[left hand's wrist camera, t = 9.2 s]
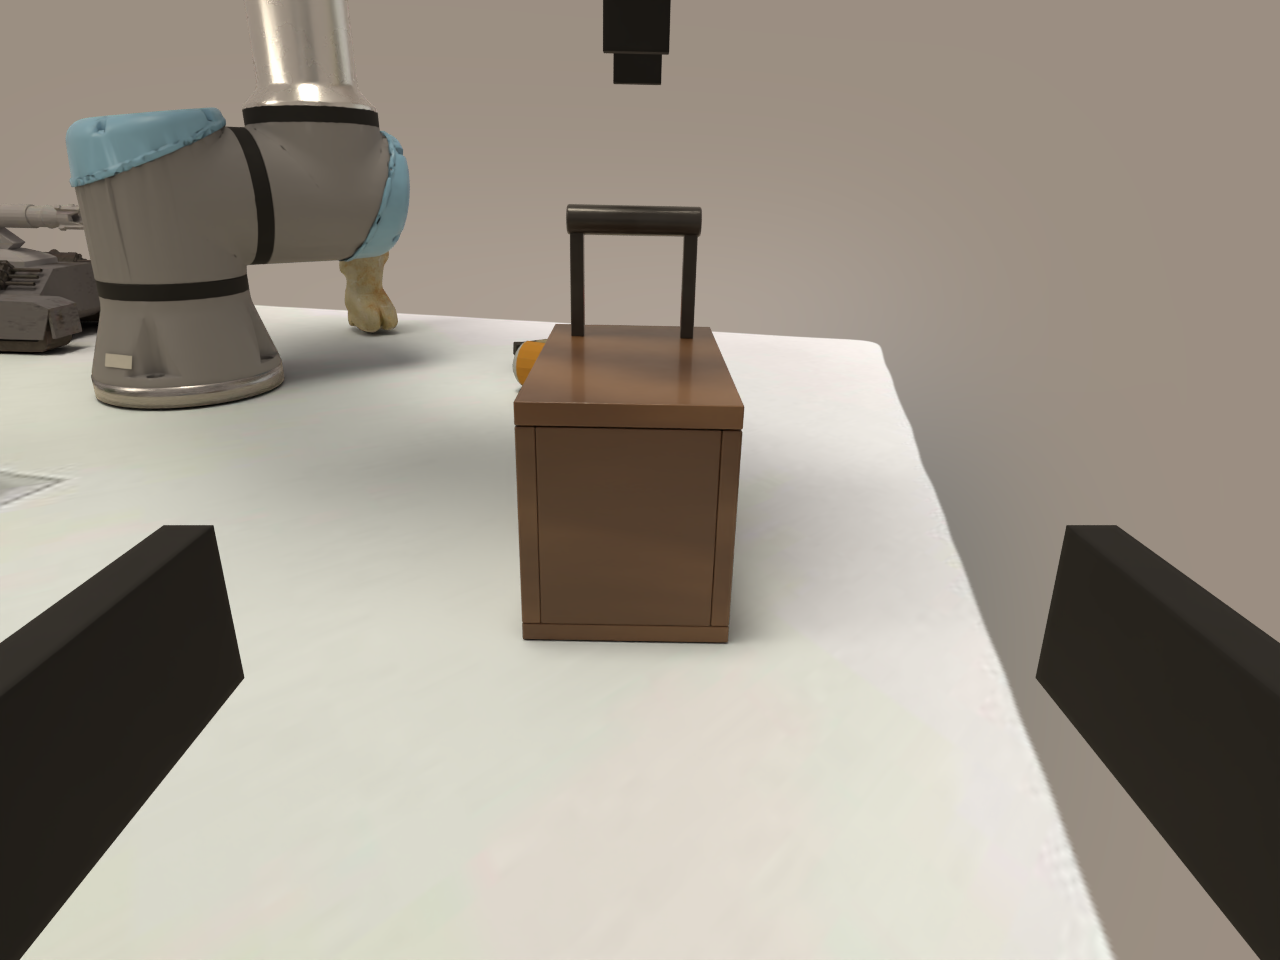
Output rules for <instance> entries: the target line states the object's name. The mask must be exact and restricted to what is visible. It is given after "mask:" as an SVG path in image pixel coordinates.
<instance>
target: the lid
mask: <svg viewBox="0 0 1280 960" xmlns="http://www.w3.org/2000/svg"><path fill="white" fill-rule="evenodd" d="M566 223H567V232H568V234H570V271H571V324H555V326H554V328H553V330H552V332H551V334H550V336H549V337H548V339H547V341H546V343H545V345H544V347H543V349H542V350H541V352H540V354H539V356H538V358H537V360H536V362H535V363H534V365H533V367H532V369H531V371H530V373H529V375H528V376H527V378H526V380H525V382H524V384H523V386H522V388H521V390H520V391H519V393H518V395H517V397H516V399H515V401H514V424H515V425H532V426H584V427H636V428H689V429H743V418H744V405H743V403H742V401H741V398H740V396H739V394H738V391H737V389H736V387H735V384H734V382H733V380H732V377H731V375H730V373H729V371H728V368H727V366H726V364H725V361H724V359H723V357H722V354H721V352H720V350H719V347H718V345H717V343H716V341H715V338H714V336H713V334H712V331H711V329H710V327H694V306H695V283H696V261H697V238H698V237H699V236H700V234H701V224H702V210H701V208H700V207H676V206H628V205H579V204H569V205H568V206H567V213H566ZM584 235H629V236H678V237H684V241H683V267H682V293H681V320H680V327H677V326H627V325H585V307H584V306H585V305H584Z"/></svg>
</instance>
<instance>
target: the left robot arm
mask: <svg viewBox="0 0 1280 960" xmlns="http://www.w3.org/2000/svg"><path fill="white" fill-rule="evenodd" d="M243 679H244V674H243V669H242V664H241V659H240V654H239V649H238V644H237V639H236V634H235V629H234V624H233V619H232V614H231V610H230V605H229V600H228V595H227V590H226V585H225V580H224V575H223V570H222V565H221V560H220V555H219V551H218V546H217V541H216V536H215V531H214V526H213V525H163V526H162V527H161V528H159V529H158V530H156V531H155V532H154V533H152V534H151V535H150V536H148V537H147V538H145V539H144V540H143V541H141V542H140V543H138V544H137V545H136V546H134V547H133V548H132V549H130V550H129V551H127V552H126V553H125V554H123V555H122V556H120V557H119V558H118V559H116V560H115V561H113V562H112V563H111V564H109V565H108V566H107V567H105V568H104V569H102V570H101V571H100V572H98V573H97V574H95V575H94V576H93V577H91V578H90V579H89V580H87V581H86V582H84V583H83V584H82V585H80V586H79V587H77V588H76V589H75V590H73V591H72V592H70V593H69V594H68V595H66V596H65V597H64V598H62V599H61V600H59V601H58V602H57V603H55V604H54V605H52V606H51V607H50V608H48V609H47V610H46V611H44V612H43V613H41V614H40V615H39V616H37V617H36V618H34V619H33V620H32V621H30V622H29V623H28V624H26V625H25V626H23V627H22V628H21V629H19V630H18V631H16V632H15V633H14V634H12V635H11V636H9V637H8V638H7V639H5V640H4V641H3V642H1V643H0V960H20V958H21V957H22V956H23V955H24V953H25V952H26V951H27V950H28V948H29V947H30V946H31V945H32V943H33V942H34V941H35V940H36V938H37V937H38V936H39V935H40V933H41V932H42V931H43V930H44V928H45V927H46V926H47V925H48V923H49V922H50V921H51V920H52V918H53V917H54V916H55V915H56V913H57V912H58V911H59V910H60V908H61V907H62V906H63V905H64V903H65V902H66V901H67V900H68V898H69V897H70V896H71V895H72V893H73V892H74V891H75V890H76V888H77V887H78V886H79V885H80V883H81V882H82V881H83V880H84V878H85V877H86V876H87V874H88V873H89V872H90V871H91V869H92V868H93V867H94V866H95V864H96V863H97V862H98V861H99V859H100V858H101V857H102V856H103V854H104V853H105V852H106V851H107V849H108V848H109V847H110V846H111V844H112V843H113V842H114V841H115V839H116V838H117V837H118V836H119V834H120V833H121V832H122V831H123V829H124V828H125V827H126V826H127V824H128V823H129V822H130V821H131V819H132V818H133V817H134V816H135V814H136V813H137V812H138V811H139V809H140V808H141V807H142V806H143V804H144V803H145V802H146V801H147V799H148V798H149V797H150V795H151V794H152V793H153V792H154V790H155V789H156V788H157V787H158V785H159V784H160V783H161V782H162V780H163V779H164V778H165V777H166V775H167V774H168V773H169V772H170V770H171V769H172V768H173V767H174V765H175V764H176V763H177V762H178V760H179V759H180V758H181V757H182V755H183V754H184V753H185V752H186V750H187V749H188V748H189V747H190V745H191V744H192V743H193V742H194V740H195V739H196V738H197V737H198V735H199V734H200V733H201V732H202V730H203V729H204V728H205V727H206V725H207V724H208V723H209V722H210V720H211V719H212V718H213V716H214V715H215V714H216V713H217V711H218V710H219V709H220V708H221V706H222V705H223V704H224V703H225V701H226V700H227V699H228V698H229V696H230V695H231V694H232V693H233V691H234V690H235V689H236V688H237V686H238V685H239V684H240V683H241V681H242V680H243ZM1036 679H1037V680H1038V681H1039V683H1040V684H1041V685H1042V686H1043V688H1044V689H1045V690H1046V691H1047V693H1048V694H1049V695H1050V696H1051V698H1052V699H1053V700H1054V701H1055V703H1056V704H1057V705H1058V706H1059V708H1060V709H1061V710H1062V711H1063V713H1064V714H1065V715H1066V716H1067V718H1068V719H1069V720H1070V722H1071V723H1072V724H1073V725H1074V727H1075V728H1076V729H1077V730H1078V732H1079V733H1080V734H1081V735H1082V737H1083V738H1084V739H1085V740H1086V742H1087V743H1088V744H1089V745H1090V747H1091V748H1092V749H1093V750H1094V752H1095V753H1096V754H1097V755H1098V757H1099V758H1100V759H1101V760H1102V762H1103V763H1104V764H1105V765H1106V767H1107V768H1108V769H1109V770H1110V772H1111V773H1112V774H1113V775H1114V777H1115V778H1116V779H1117V780H1118V782H1119V783H1120V784H1121V785H1122V787H1123V788H1124V789H1125V790H1126V792H1127V793H1128V794H1129V795H1130V797H1131V798H1132V799H1133V801H1134V802H1135V803H1136V804H1137V806H1138V807H1139V808H1140V809H1141V811H1142V812H1143V813H1144V814H1145V815H1146V817H1147V818H1148V819H1149V821H1150V822H1151V823H1152V824H1153V826H1154V827H1155V828H1156V829H1157V831H1158V832H1159V833H1160V834H1161V835H1162V837H1163V838H1164V839H1165V841H1166V842H1167V843H1168V844H1169V846H1170V847H1171V848H1172V849H1173V851H1174V852H1175V853H1176V854H1177V856H1178V857H1179V858H1180V859H1181V861H1182V862H1183V863H1184V864H1185V866H1186V867H1187V868H1188V869H1189V871H1190V872H1191V873H1192V874H1193V876H1194V877H1195V878H1196V879H1197V881H1198V882H1199V883H1200V884H1201V886H1202V887H1203V888H1204V890H1205V891H1206V892H1207V893H1208V895H1209V896H1210V897H1211V898H1212V900H1213V901H1214V902H1215V903H1216V905H1217V906H1218V907H1219V908H1220V910H1221V911H1222V912H1223V913H1224V915H1225V916H1226V917H1227V918H1228V920H1229V921H1230V922H1231V923H1232V925H1233V926H1234V927H1235V928H1236V930H1237V931H1238V932H1239V933H1240V935H1241V936H1242V937H1243V938H1244V940H1245V941H1246V942H1247V943H1248V945H1249V946H1250V947H1251V948H1252V950H1253V951H1254V952H1255V953H1256V955H1257V956H1258V957H1259V958H1260V960H1280V643H1279V642H1277V641H1276V640H1275V639H1273V638H1272V637H1271V636H1269V635H1268V634H1266V633H1265V632H1264V631H1262V630H1261V629H1259V628H1258V627H1257V626H1255V625H1254V624H1252V623H1251V622H1250V621H1248V620H1247V619H1246V618H1244V617H1243V616H1241V615H1240V614H1239V613H1237V612H1236V611H1234V610H1233V609H1232V608H1230V607H1229V606H1228V605H1226V604H1225V603H1223V602H1222V601H1221V600H1219V599H1218V598H1216V597H1215V596H1214V595H1212V594H1211V593H1209V592H1208V591H1207V590H1205V589H1204V588H1202V587H1201V586H1200V585H1198V584H1197V583H1196V582H1194V581H1193V580H1191V579H1190V578H1189V577H1187V576H1186V575H1184V574H1183V573H1182V572H1180V571H1179V570H1178V569H1176V568H1175V567H1173V566H1172V565H1171V564H1169V563H1168V562H1166V561H1165V560H1164V559H1162V558H1161V557H1160V556H1158V555H1157V554H1155V553H1154V552H1153V551H1151V550H1150V549H1148V548H1147V547H1146V546H1144V545H1143V544H1142V543H1140V542H1139V541H1137V540H1136V539H1135V538H1133V537H1132V536H1130V535H1129V534H1128V533H1126V532H1125V531H1124V530H1122V529H1121V528H1119V527H1118V526H1116V525H1067V526H1066V531H1065V536H1064V541H1063V546H1062V551H1061V555H1060V560H1059V565H1058V570H1057V575H1056V580H1055V585H1054V590H1053V595H1052V600H1051V605H1050V610H1049V614H1048V619H1047V624H1046V629H1045V634H1044V639H1043V644H1042V649H1041V654H1040V659H1039V664H1038V669H1037V674H1036Z"/></svg>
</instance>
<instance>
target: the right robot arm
mask: <svg viewBox="0 0 1280 960" xmlns="http://www.w3.org/2000/svg"><path fill="white" fill-rule="evenodd" d="M670 1H671V0H603V52H604V53H614V80H613V81H614V84H638V85H661V65H662V54H669V35H670ZM244 4H245V10H246V17H247V23H248V30H249V36H250V43H251V49H252V56H253V62H254V69H255V76H256V82H257V86H256V88H255V91H254V92H253V93H252V94H251V96H250V97H249V98H248V99H247V100H246V101H245V103H244V104H243V105H242V111H243V118H244V123H245V127H225V125H226V120H225V118H224V117H223V116H222V114H221V112H220V111H219V110H218V109H217V108H200V109H183V110H169V111H157V112H145V113H133V114H121V115H111V116H100V117H91V118H84V119H80V120H78V121H76V122H74V123H73V124H72V125H71V126H70V127H69V129H68V131H67V134H66V146H67V152H68V158H69V165H70V172H71V178H70V184H71V186H72V187H75V190H76V195H77V199H78V204H79V208H80V213H81V217H82V222H83V226H84V231H85V236H86V240H87V245H88V250H89V255H90V259H91V264H92V269H93V273H94V278H95V282H96V286H97V291H98V295H99V300H100V309H101V310H100V317H99V324H98V331H97V338H96V345H95V352H94V359H93V366H92V375H91V378H92V382H93V386H94V391H95V395H96V398H97V399H98V400H100V401H102V402H104V403H107V404H111V405H115V406H121V407H130V408H180V407H192V406H202V405H210V404H217V403H223V402H229V401H234V400H239V399H243V398H247V397H251V396H255V395H258V394H261V393H264V392H267V391H269V390H271V389H274V388H275V387H277V386H279V385H280V384H281V383H282V382H283V381H284V373H283V366H282V360H281V358H280V356H279V353H278V351H277V349H276V347H275V346H274V344H273V342H272V340H271V338H270V336H269V334H268V332H267V330H266V328H265V326H264V324H263V322H262V320H261V318H260V316H259V314H258V312H257V310H256V308H255V306H254V304H253V302H252V300H251V296H250V291H249V285H248V278H247V265H255V264H275V263H294V262H313V261H333V260H339V261H345V262H349V261H352V260H353V259H359V258H368V257H376V256H380V255H383V254H385V253H386V252H388V251H389V250H390V249H391V248H392V247H393V246H394V245H395V244H396V242H397V241H398V239H399V237H400V234H401V232H402V230H403V228H404V225H405V221H406V218H407V213H408V206H409V193H410V192H409V191H410V184H409V171H408V166H407V161H406V158H405V157H404V156H403V149H402V147H401V145H400V143H399V141H398V140H397V139H396V138H395V137H393V136H392V135H390V134H388V133H386V132H385V131H380V129H379V121H378V112H377V109H376V108H375V107H374V106H373V105H372V104H371V103H370V102H369V101H368V100H367V99H366V98H365V97H364V96H363V95H362V94H361V92H360V91H359V89H358V85H357V76H356V68H355V59H354V50H353V42H352V33H351V25H350V16H349V7H348V0H244Z"/></svg>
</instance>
